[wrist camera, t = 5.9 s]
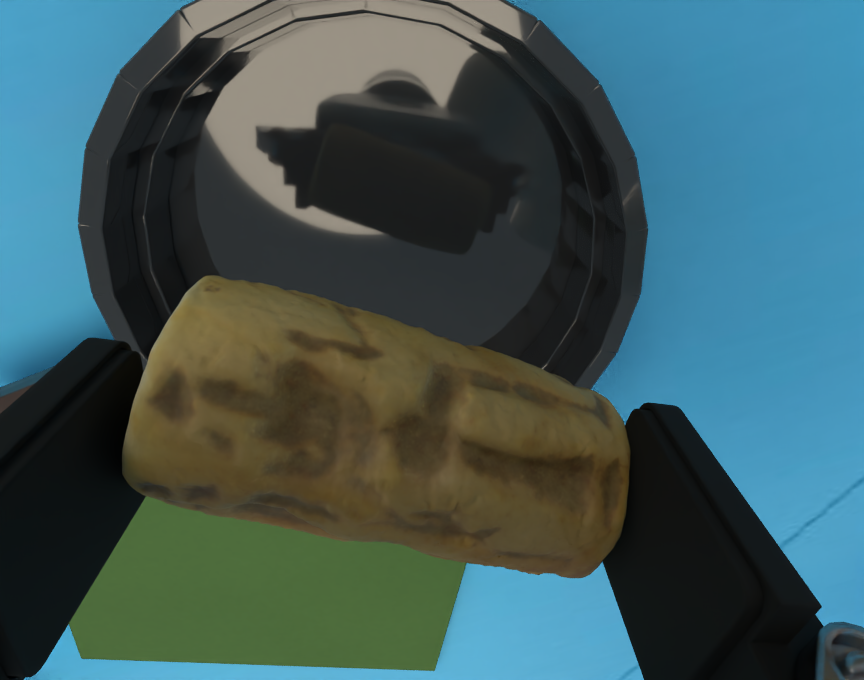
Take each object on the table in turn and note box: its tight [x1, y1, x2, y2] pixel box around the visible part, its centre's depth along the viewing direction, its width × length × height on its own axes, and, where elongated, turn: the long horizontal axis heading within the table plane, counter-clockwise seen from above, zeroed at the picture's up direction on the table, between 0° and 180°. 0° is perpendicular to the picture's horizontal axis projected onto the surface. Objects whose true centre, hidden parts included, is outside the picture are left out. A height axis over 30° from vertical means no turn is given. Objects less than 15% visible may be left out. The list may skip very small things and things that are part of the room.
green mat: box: [69, 496, 466, 671], centre depth 26 cm, size 20×14×1 cm
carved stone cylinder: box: [122, 275, 631, 578], centre depth 10 cm, size 8×4×4 cm, turn 69°
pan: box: [78, 0, 648, 390], centre depth 16 cm, size 15×15×4 cm
